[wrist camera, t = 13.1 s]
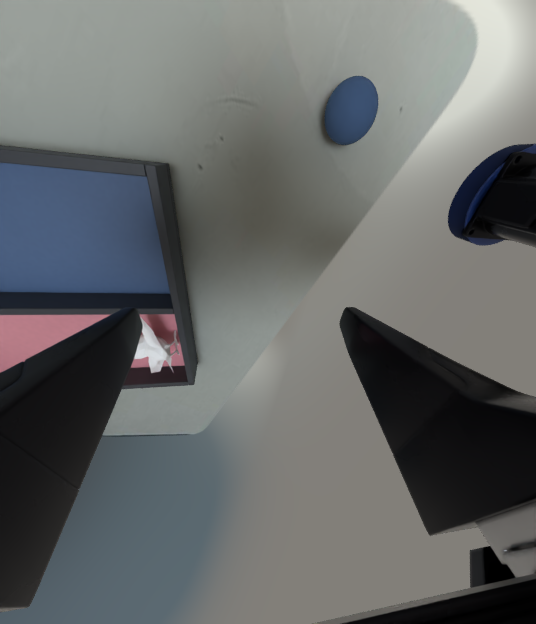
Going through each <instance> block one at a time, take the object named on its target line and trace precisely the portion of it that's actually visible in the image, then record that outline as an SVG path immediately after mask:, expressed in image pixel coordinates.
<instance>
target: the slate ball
mask: <svg viewBox="0 0 536 624" xmlns="http://www.w3.org/2000/svg"><path fill="white" fill-rule="evenodd" d="M377 109H378V94H377V91H376V88H375V86H374V84H373V83H372V82H371V81H370V80H369V79H367V78H366V77H363V76H353V77H350V78H348V79H346V80H344V81H343V82H342V83H340V84H339V85H338V86H337V87H336V89H335V90H334V91H333V93H332V94H331V96H330V98H329V100H328V103H327V106H326V110H325V128H326V131H327V133H328V135H329V137H330V138H331V139H332V140H333V141H334V142H336V143H338V144H341V145H348V144H352V143H354V142H356V141H358V140H359V139H361V138H362V137H363V136H364V135H365V134H366V133H367V132H368V130H369V129H370V128H371V126H372V124H373V122H374V120H375V117H376V114H377Z"/></svg>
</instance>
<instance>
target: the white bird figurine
mask: <svg viewBox="0 0 536 624" xmlns="http://www.w3.org/2000/svg"><path fill="white" fill-rule="evenodd" d="M140 318H141V317H140ZM141 321H142V324H143V329H142V333H143V334H142V335H141V336H140V340H139V343H138V347H137V350H136V354H135V357H134V359H142V358H145V357H149V361H148V362H149V366H150V369H151V373H154V372H159V371H161V368H162V365H163V362H164V360H166V361H167V362H168V364H169V366H170V368H171V369H172V367H171V360H172V358H171V357H170V356H172V355H174V354H175V353H176V352H177V354H178V355H180V354H179V351H178V348H177V345H179V344H178V342H177V339H176V330H175V331H174V339H175V340H174V341H173V342H172V343H171V344H168V343H167V342H166V341H165V340H164V339H163V338H161V337H158V336H155V334H154V332H153V331H152V329H151V328H150V327H149V326H148V325H147V323H146V322H145V321H144V320H143V319H142V318H141ZM174 343H175V348H176V350H175V351H174V352H173V353H172V354H171V353H170V346H171V345H172V344H174ZM172 371H173V370H172ZM173 373H174V372H173Z"/></svg>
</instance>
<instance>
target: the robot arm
mask: <svg viewBox="0 0 536 624" xmlns="http://www.w3.org/2000/svg"><path fill="white" fill-rule="evenodd" d="M463 236H466V237H470V238H484V239H499V240H512V241H516V242H519V243H523V244H526V245H529V246H533V247H536V154H534V153H527V152H514V153H513V154H511V155H510V156H509V158H508V159H507V161H506V162H505V164H504V165H503V167H502V169H501V170H500V172H499V174H498V175H497V177H496V178H495V180H494V182H493V183H492V185H491V187H490V188H489V190H488V191H487V193H486V195H485V196H484V198H483V200H482V201H481V203H480V204H479V206H478V208H477V209H476V211H475V213H474V214H473V216H472V217H471V219H470V221H469V222H468V224H467V226H466V227H465V229H464V231H463ZM340 328H341V331H342V334H343V338H344V341H345V344H346V347H347V350H348V353H349V355H350V358H351V360H352V363H353V365H354V367H355V369H356V372H357V374H358V376H359V378H360V381H361V383H362V385H363V388H364V390H365V392H366V394H367V397H368V399H369V401H370V403H371V406H372V408H373V410H374V412H375V415H376V417H377V419H378V421H379V424H380V426H381V428H382V430H383V433H384V435H385V437H386V440H387V442H388V444H389V446H390V449H391V451H392V453H393V456H394V458H395V460H396V463H397V465H398V467H399V469H400V471H401V474H402V476H403V478H404V481H405V483H406V485H407V487H408V490H409V492H410V494H411V496H412V498H413V501H414V503H415V505H416V508H417V510H418V512H419V515H420V517H421V519H422V521H423V524H424V526H425V528H426V530H427V532H428V534H429V535H430V536H431V535H437V534H443V533H448V532H454V531H459V530H465V529H471V528H476V527H478V528H479V529H480V531H481V533H482V534H483V536H484V537H485V539H486V540H487V542H488V543H489V545H490V546H488V547H483V548H479V549H474V550H470V587H471V588H469V589H464V590H460V591H455V592H451V593H447V594H442V595H438V596H433V597H429V598H424V599H420V600H416V601H411V602H407V603H402V604H398V605H394V606H389V607H385V608H380V609H376V610H371V611H367V612H362V613H358V614H353V615H349V616H345V617H340V618H336V619H331V620H327V621H323V622H318V623H314V624H536V397H534V396H530V395H527V394H524V393H521V392H518V391H515V390H513V389H511V388H509V387H507V386H505V385H503V384H500V383H498V382H496V381H494V380H492V379H490V378H488V377H486V376H484V375H481V374H480V373H478V372H476V371H473V370H472V369H469V368H467V367H465V366H463V365H461V364H459V363H457V362H455V361H453V360H451V359H449V358H448V357H446V356H444V355H442V354H440V353H438V352H436V351H434V350H433V349H430V348H428V347H427V346H425V345H423V344H421V343H419V342H418V341H416V340H414V339H412V338H410V337H408V336H406V335H404V334H403V333H401V332H399V331H397V330H395V329H393V328H392V327H390V326H388V325H386V324H384V323H382V322H381V321H379V320H377V319H375V318H373V317H371V316H369V315H368V314H366V313H364V312H362V311H360V310H358V309H357V308H354V307H346V308H345V309H344V311H343V314H342V317H341V319H340ZM142 329H143V324H142V321H141V318H140V315H139V312H138V310H137V309H136V308H123V309H121V310H119V311H117V312H115V313H113V314H111V315H110V316H108V317H106V318H104V319H102V320H100V321H98V322H96V323H94V324H92V325H91V326H89V327H87V328H85V329H83V330H81V331H79V332H77V333H75V334H73V335H72V336H70V337H68V338H66V339H64V340H62V341H60V342H58V343H56V344H54V345H53V346H51V347H49V348H47V349H45V350H43V351H41V352H39V353H37V354H35V355H33V356H32V357H30V358H28V359H26V360H25V362H20V363H18V364H16V365H14V366H12V367H11V368H9V369H7V370H5V371H3V372H1V373H0V612H5V611H11V610H16V609H22V608H27V607H29V606H30V604H31V602H32V600H33V598H34V596H35V594H36V591H37V589H38V587H39V584H40V582H41V579H42V577H43V575H44V572H45V570H46V567H47V565H48V563H49V561H50V558H51V556H52V553H53V551H54V549H55V546H56V544H57V542H58V539H59V537H60V534H61V532H62V529H63V527H64V525H65V523H66V520H67V518H68V515H69V513H70V511H71V508H72V506H73V504H74V501H75V499H76V497H77V494H78V492H79V490H78V489H79V488H80V486H81V484H82V482H83V479H84V477H85V475H86V472H87V470H88V468H89V465H90V463H91V460H92V458H93V456H94V453H95V451H96V449H97V446H98V444H99V441H100V439H101V437H102V434H103V432H104V430H105V427H106V425H107V423H108V420H109V418H110V415H111V413H112V411H113V408H114V406H115V404H116V401H117V399H118V396H119V394H120V392H121V389H122V387H123V385H124V382H125V380H126V377H127V375H128V373H129V370H130V368H131V366H132V363H133V360H134V357H135V354H136V350H137V347H138V343H139V340H140V336H141V332H142Z"/></svg>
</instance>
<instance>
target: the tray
mask: <svg viewBox="0 0 536 624" xmlns="http://www.w3.org/2000/svg"><path fill="white" fill-rule="evenodd" d="M123 308H136V309H137V310H138V312H139V315H140V317H141V318H142V319H143V320H144V321H145V322H146V323H147V325H148V326H149V327H150V328H151V329H152V331H153V332H154V334H155V336H158V337H161V338H163V339H164V340H165V341H166V342H167V343H168V344H171V343H172V342H173V341H174V340H175V339H174V331H175V330H176V339H177V342H178V344H179V345H177V348H178V351H179V354H180V355H178V354H177V352H176V353H175V354H174V355H172V356H170V357H171V358H172V360H171V367H172V369H171V368H170V366H169V364H168V362H167V361H166V360H164V362H163V365H162V368H161V371H159V372H154V373H151V369H150V366H149V362H148V361H149V357H145V358H142V359H134V360H133V363H132V366H131V368H130V370H129V373H128V375H127V377H126V380H125V382H124V385H123V387H122V389H133V388H150V387H167V386H184V385H194V382H195V376H196V370H197V364H198V362H197V356H196V349H195V342H194V335H193V328H192V321H191V314H190V307H189V300H188V293H187V287H186V280H185V273H184V266H183V259H182V252H181V245H180V238H179V231H178V225H177V218H176V211H175V204H174V197H173V190H172V183H171V176H170V169H169V164H168V163H158V162H149V161H140V160H131V159H121V158H112V157H103V156H94V155H85V154H75V153H66V152H57V151H48V150H38V149H29V148H20V147H11V146H2V145H0V373H1V372H3V371H5V370H7V369H9V368H11V367H12V366H14V365H16V364H18V363H20V362H25V360H26V359H28V358H30V357H32V356H33V355H35V354H37V353H39V352H41V351H43V350H45V349H47V348H49V347H51V346H53V345H54V344H56V343H58V342H60V341H62V340H64V339H66V338H68V337H70V336H72V335H73V334H75V333H77V332H79V331H81V330H83V329H85V328H87V327H89V326H91V325H92V324H94V323H96V322H98V321H100V320H102V319H104V318H106V317H108V316H110V315H111V314H113V313H115V312H117V311H119V310H121V309H123ZM142 334H143V333H142V332H141V335H142ZM175 350H176V348H175V343H174V344H172V345H171V346H170V353H171V354H172V353H173V352H174V351H175ZM172 370H173V371H172ZM173 372H174V373H173Z"/></svg>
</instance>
